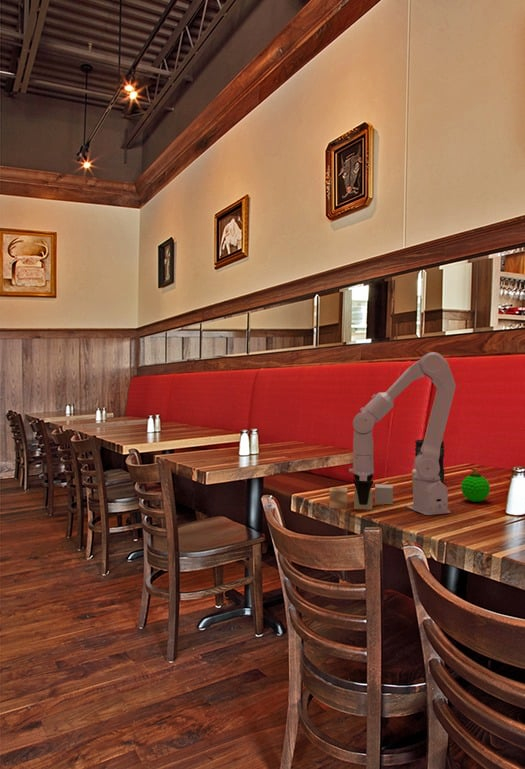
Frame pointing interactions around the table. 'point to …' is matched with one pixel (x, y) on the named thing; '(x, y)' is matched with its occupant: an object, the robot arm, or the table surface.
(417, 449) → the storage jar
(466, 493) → the ornament
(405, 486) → the table surface
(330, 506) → the birch block
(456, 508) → the table surface
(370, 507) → the sage block
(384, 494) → the white cube
